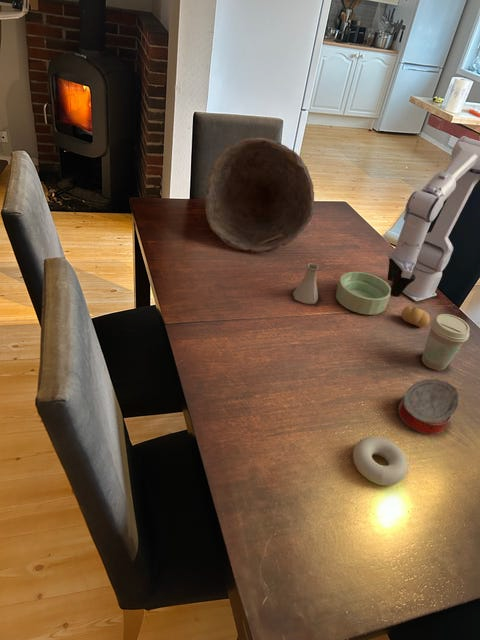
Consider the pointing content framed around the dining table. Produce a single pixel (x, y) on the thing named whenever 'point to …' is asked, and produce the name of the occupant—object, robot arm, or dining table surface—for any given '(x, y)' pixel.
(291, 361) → the dining table surface
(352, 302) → the celadon bowl
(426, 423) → the canned food
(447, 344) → the coffee cup
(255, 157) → the bowl
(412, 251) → the robot arm
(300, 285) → the flask
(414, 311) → the potato
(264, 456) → the dining table surface
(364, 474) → the donut
